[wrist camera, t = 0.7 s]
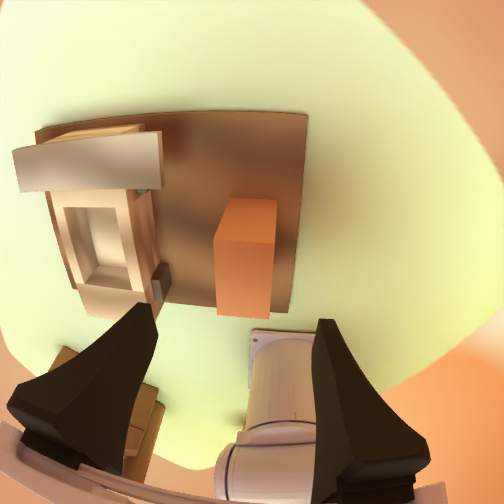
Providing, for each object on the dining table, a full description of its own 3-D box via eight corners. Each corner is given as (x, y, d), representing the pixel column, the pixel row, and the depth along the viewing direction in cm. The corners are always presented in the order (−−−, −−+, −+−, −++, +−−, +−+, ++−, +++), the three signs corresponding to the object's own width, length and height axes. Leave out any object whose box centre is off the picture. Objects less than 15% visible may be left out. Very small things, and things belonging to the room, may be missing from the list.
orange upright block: (272, 265, 22) (269, 319, 18) (231, 262, 22) (217, 314, 18) (277, 200, 20) (274, 243, 15) (230, 197, 20) (213, 239, 15)
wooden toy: (66, 369, 36) (2, 510, 15) (63, 344, 33) (-16, 504, 12) (163, 412, 38) (121, 567, 17) (172, 393, 35) (123, 574, 14)
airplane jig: (287, 304, 25) (287, 352, 21) (77, 282, 27) (51, 317, 22) (306, 114, 17) (314, 126, 13) (42, 128, 19) (-2, 146, 14)
